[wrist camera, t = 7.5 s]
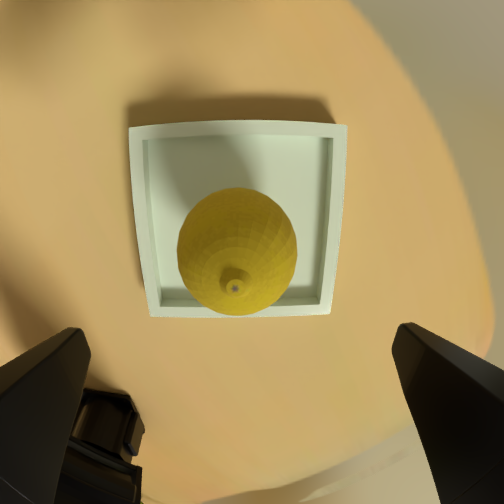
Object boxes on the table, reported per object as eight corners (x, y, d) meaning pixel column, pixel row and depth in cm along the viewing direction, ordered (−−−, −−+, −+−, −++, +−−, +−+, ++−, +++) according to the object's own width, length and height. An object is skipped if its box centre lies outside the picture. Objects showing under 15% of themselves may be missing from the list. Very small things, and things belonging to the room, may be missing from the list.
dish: (156, 302, 20) (150, 316, 19) (138, 128, 16) (128, 127, 14) (323, 300, 21) (329, 313, 19) (337, 125, 16) (347, 125, 15)
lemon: (213, 162, 16) (190, 182, 9) (299, 202, 17) (343, 252, 10) (178, 246, 18) (140, 319, 11) (259, 279, 19) (271, 366, 12)
